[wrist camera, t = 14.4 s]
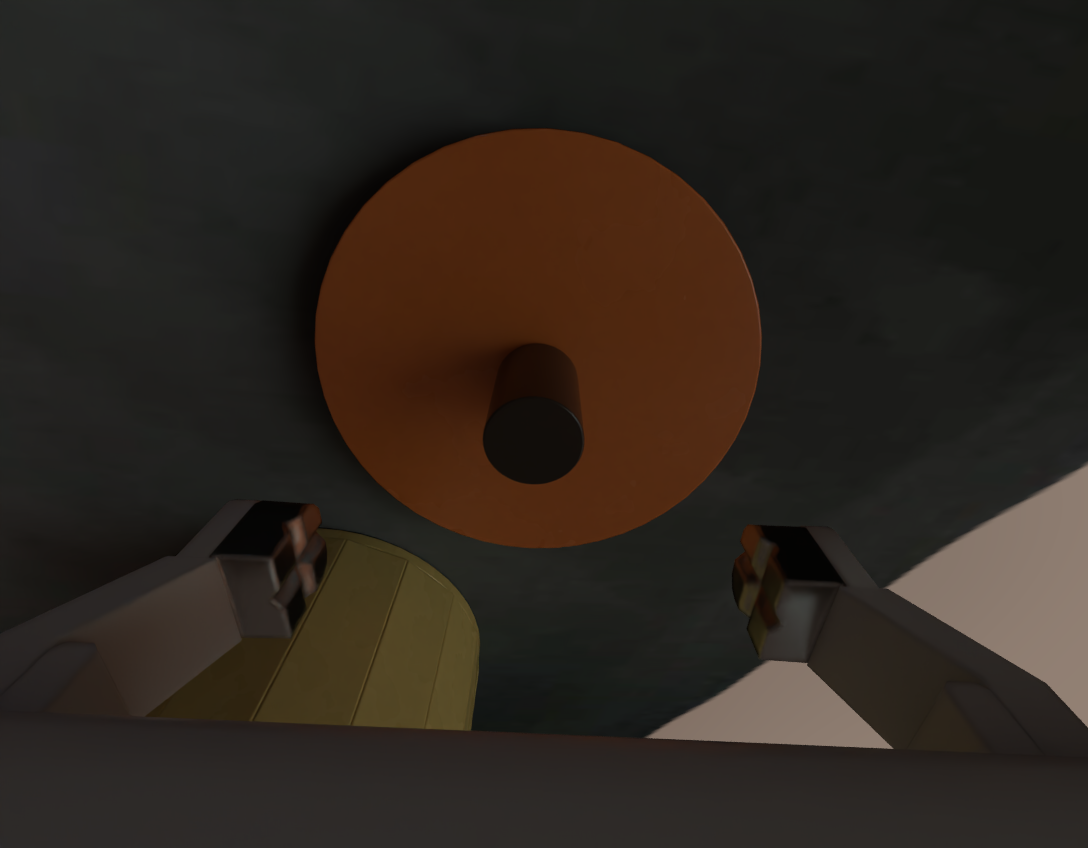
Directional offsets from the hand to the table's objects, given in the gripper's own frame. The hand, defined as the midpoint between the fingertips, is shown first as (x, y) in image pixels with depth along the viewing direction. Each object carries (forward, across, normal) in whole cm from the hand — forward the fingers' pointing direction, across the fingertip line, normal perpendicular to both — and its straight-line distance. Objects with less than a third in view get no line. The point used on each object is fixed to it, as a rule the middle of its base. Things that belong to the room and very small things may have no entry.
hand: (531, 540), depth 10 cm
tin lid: (+7, 0, -1) cm, 7 cm away
